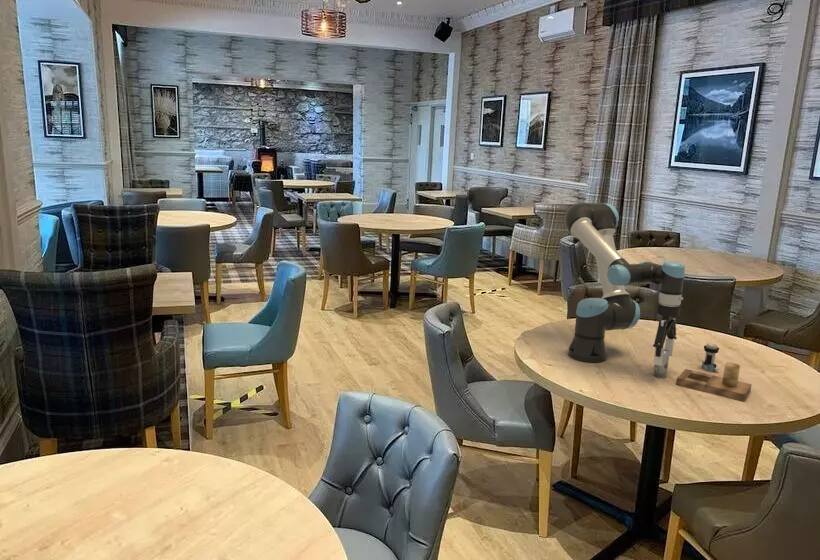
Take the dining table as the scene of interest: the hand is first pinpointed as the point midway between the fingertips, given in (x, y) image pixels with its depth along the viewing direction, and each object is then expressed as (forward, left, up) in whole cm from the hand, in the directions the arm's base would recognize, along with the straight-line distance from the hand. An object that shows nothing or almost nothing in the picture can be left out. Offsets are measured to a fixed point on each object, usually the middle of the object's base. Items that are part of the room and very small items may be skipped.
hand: (662, 360), depth 222 cm
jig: (+18, +1, -6) cm, 19 cm away
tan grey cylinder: (0, 0, -6) cm, 6 cm away
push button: (+13, +20, -7) cm, 25 cm away
